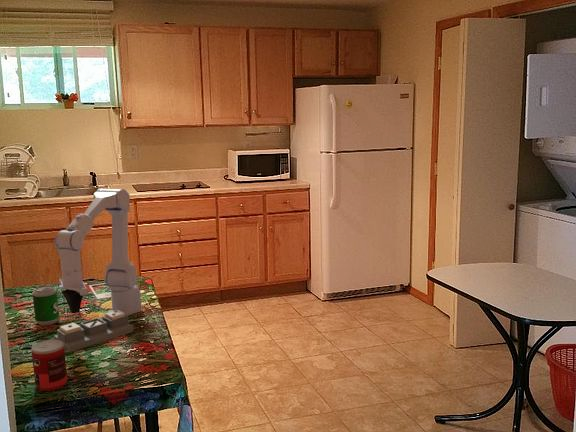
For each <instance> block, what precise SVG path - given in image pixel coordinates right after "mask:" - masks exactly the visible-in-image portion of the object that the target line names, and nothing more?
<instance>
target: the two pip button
mask: <svg viewBox="0 0 576 432" xmlns="http://www.w3.org/2000/svg"><path fill="white" fill-rule="evenodd" d="M104 316H106V318H108V319H110V320H115V319H118V318H122V317H125V313H123V312H121V311H119V310H115V311H112V312H108V311H107V312H105V315H104Z"/></svg>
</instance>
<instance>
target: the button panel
mask: <svg viewBox="0 0 576 432" xmlns="http://www.w3.org/2000/svg"><path fill="white" fill-rule="evenodd" d="M93 321H99V322H101V323H102V324H99V325H95V326H92V327H88V326H87V325H85V324H87V323H90V322H93ZM80 327H81V330H79V331H76V332H72V333H69V334H65V333H63V332H61V331H60V328H59V329H57V330H56V332H57V334H54V335H53V340H59V341H62V342H63V343H64V350H67V351H68V352H69V353H72V352H75V351H78V350H79V351H80V350H82V349H84V348H87V347H91V346H93V345H97V344H99V343H103V342H106V341H108V340H112V339H115V338H118V337H120V336H124V335H127V334H131V333H133V332H134V325H133V324H130V323H129V315H125V317H122V318H118V319H115V320H110V319H108V318H106V316H105V315H103V316H102V318H99V317H94V318H93V319H88V320H85V321H82V322H80Z"/></svg>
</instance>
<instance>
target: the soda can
mask: <svg viewBox="0 0 576 432" xmlns="http://www.w3.org/2000/svg"><path fill="white" fill-rule="evenodd" d="M32 300H33V301H32V302H33V309H34V310H33V311H34V321H35V323H36V324H38V325H39V326H51V325H54V324H56V323H57V322H58V321H59V319H60V310H59V309H60V308H59V299H58V289H57V288H56V287H54V286H53V285H47V284H45V285H41V286H37V287H35V288H34V290H33V291H32Z"/></svg>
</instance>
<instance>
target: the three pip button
mask: <svg viewBox="0 0 576 432" xmlns="http://www.w3.org/2000/svg"><path fill="white" fill-rule="evenodd" d="M99 324H102V323H101V322H99V321H93V322H90V323H87V324H85V325H87V326H88V327H92V326H95V325H99Z"/></svg>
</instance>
